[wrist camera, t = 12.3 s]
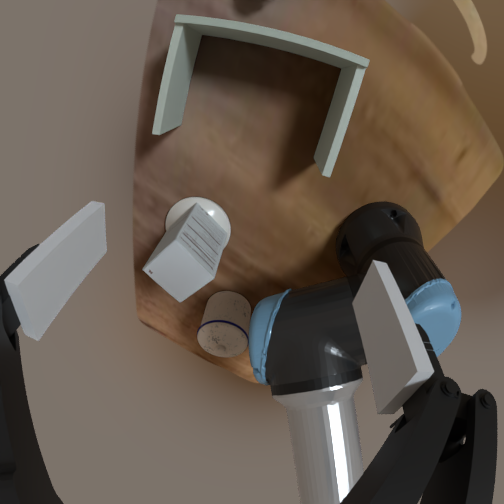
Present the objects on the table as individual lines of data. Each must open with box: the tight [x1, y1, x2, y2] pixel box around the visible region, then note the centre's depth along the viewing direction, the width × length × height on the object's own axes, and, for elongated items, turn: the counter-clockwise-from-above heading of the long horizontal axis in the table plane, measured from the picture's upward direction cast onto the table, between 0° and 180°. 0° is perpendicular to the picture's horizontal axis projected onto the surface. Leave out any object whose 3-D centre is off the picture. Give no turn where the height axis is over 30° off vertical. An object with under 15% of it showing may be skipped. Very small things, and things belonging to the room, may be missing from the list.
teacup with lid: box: [197, 291, 251, 357], centre depth 53 cm, size 12×9×12 cm
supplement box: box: [143, 203, 228, 302], centre depth 44 cm, size 7×7×13 cm
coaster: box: [166, 197, 231, 249], centre depth 49 cm, size 11×11×1 cm
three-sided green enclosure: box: [152, 14, 369, 177], centre depth 33 cm, size 15×22×10 cm
